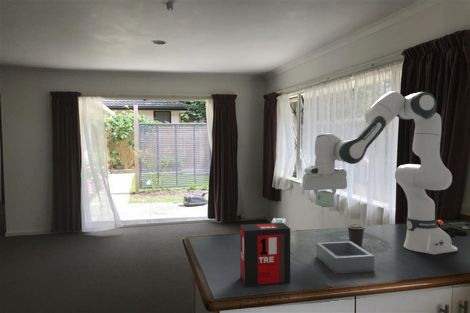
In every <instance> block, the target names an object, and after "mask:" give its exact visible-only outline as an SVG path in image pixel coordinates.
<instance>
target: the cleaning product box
mask: <svg viewBox="0 0 470 313" xmlns="http://www.w3.org/2000/svg"><path fill="white" fill-rule="evenodd" d="M239 242H240V244H239V251H240V252H239V253H240V257H239V258H240V260H239V261H240V262H239V263H240V265H239V267H240V272H239V273H240V279H241V282H242V284H243V286H244V288H253V287H265V286H277V285H278V286H280V285H288V284H289V285H291V228H290V227H289V226H288V225H287V224H286V225H285V224H284V223H271V222H269V223H249V224H240V225H239Z"/></svg>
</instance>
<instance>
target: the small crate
mask: <svg viewBox="0 0 470 313" xmlns="http://www.w3.org/2000/svg"><path fill="white" fill-rule="evenodd" d="M332 192H333V191H329V190H318V192H317V194H318V195H319V196H320V200H316V199H315V204H317V205H319V206H321V207H322V208H333V207H335V195H334V193H332Z"/></svg>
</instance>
